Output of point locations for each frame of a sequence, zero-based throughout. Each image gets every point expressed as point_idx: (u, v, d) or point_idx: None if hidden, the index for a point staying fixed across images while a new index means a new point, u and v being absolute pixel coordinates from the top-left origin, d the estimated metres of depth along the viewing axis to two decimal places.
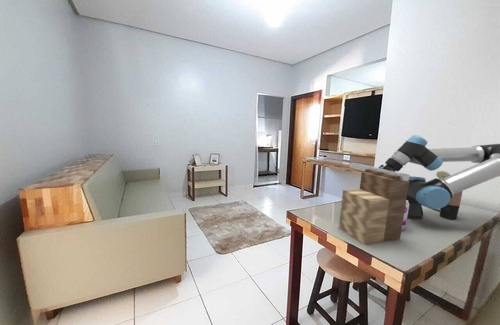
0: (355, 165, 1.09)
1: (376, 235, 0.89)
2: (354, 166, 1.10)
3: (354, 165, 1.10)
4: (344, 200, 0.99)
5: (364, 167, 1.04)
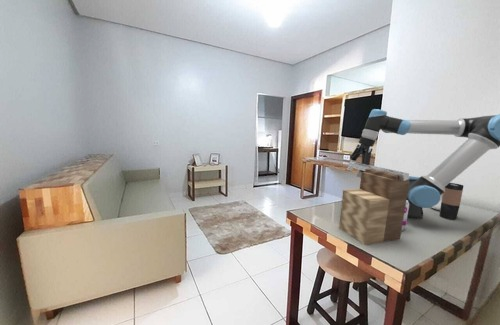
0: (354, 165, 1.09)
1: (376, 235, 0.89)
2: (353, 166, 1.10)
3: (353, 165, 1.10)
4: (344, 200, 0.99)
5: (363, 167, 1.04)
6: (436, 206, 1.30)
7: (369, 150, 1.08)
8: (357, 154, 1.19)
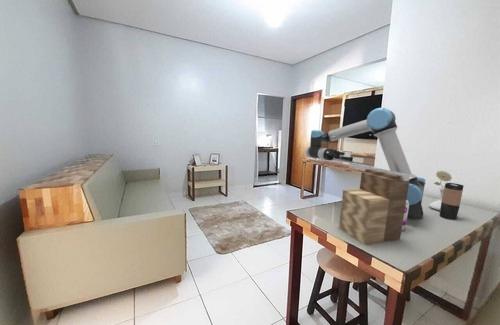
0: (354, 165, 1.09)
1: (376, 235, 0.89)
2: (354, 166, 1.10)
3: (353, 165, 1.10)
4: (344, 200, 0.99)
5: (364, 167, 1.04)
6: (436, 206, 1.30)
7: (327, 152, 1.27)
8: (344, 157, 1.29)
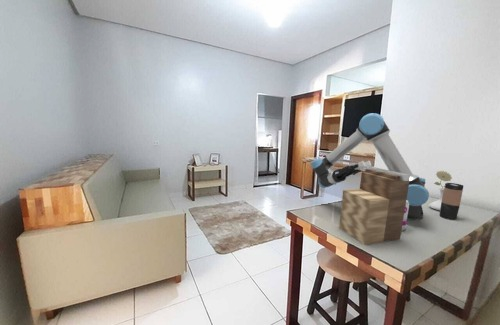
0: None
1: (376, 235, 0.89)
2: None
3: None
4: (344, 200, 0.99)
5: (364, 167, 1.04)
6: (436, 206, 1.30)
7: (336, 172, 1.16)
8: (352, 171, 1.15)
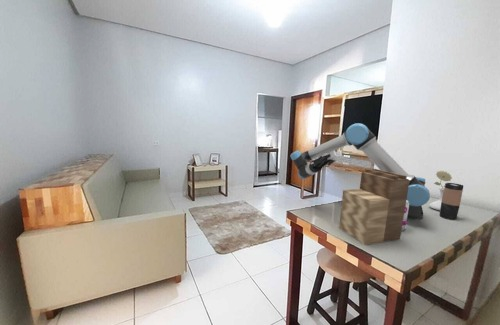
0: None
1: (376, 235, 0.89)
2: None
3: None
4: (344, 200, 0.99)
5: (335, 157, 1.09)
6: (436, 206, 1.30)
7: (312, 163, 1.22)
8: (326, 161, 1.21)
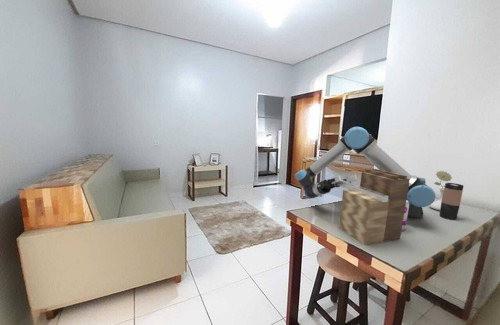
0: None
1: (376, 235, 0.89)
2: (337, 182, 1.08)
3: None
4: (344, 200, 0.99)
5: (346, 184, 1.02)
6: (436, 206, 1.30)
7: (318, 185, 1.15)
8: None
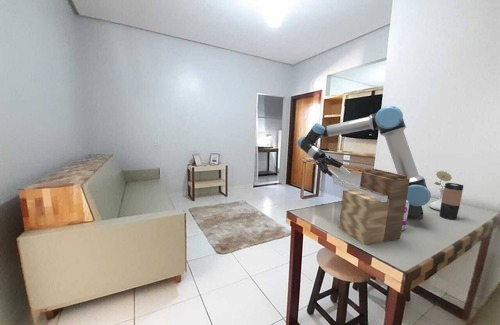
0: (338, 181, 1.08)
1: (376, 235, 0.89)
2: (337, 182, 1.08)
3: (337, 181, 1.08)
4: (344, 200, 0.99)
5: (346, 184, 1.02)
6: (436, 206, 1.30)
7: (317, 162, 1.24)
8: (332, 164, 1.28)
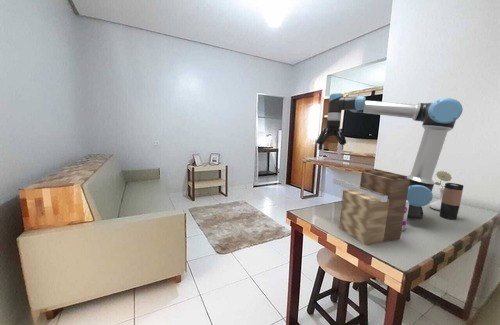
0: (338, 181, 1.08)
1: (376, 235, 0.89)
2: (337, 182, 1.08)
3: (337, 181, 1.08)
4: (344, 200, 0.99)
5: (346, 184, 1.02)
6: (436, 206, 1.30)
7: (323, 130, 1.23)
8: (336, 137, 1.27)
